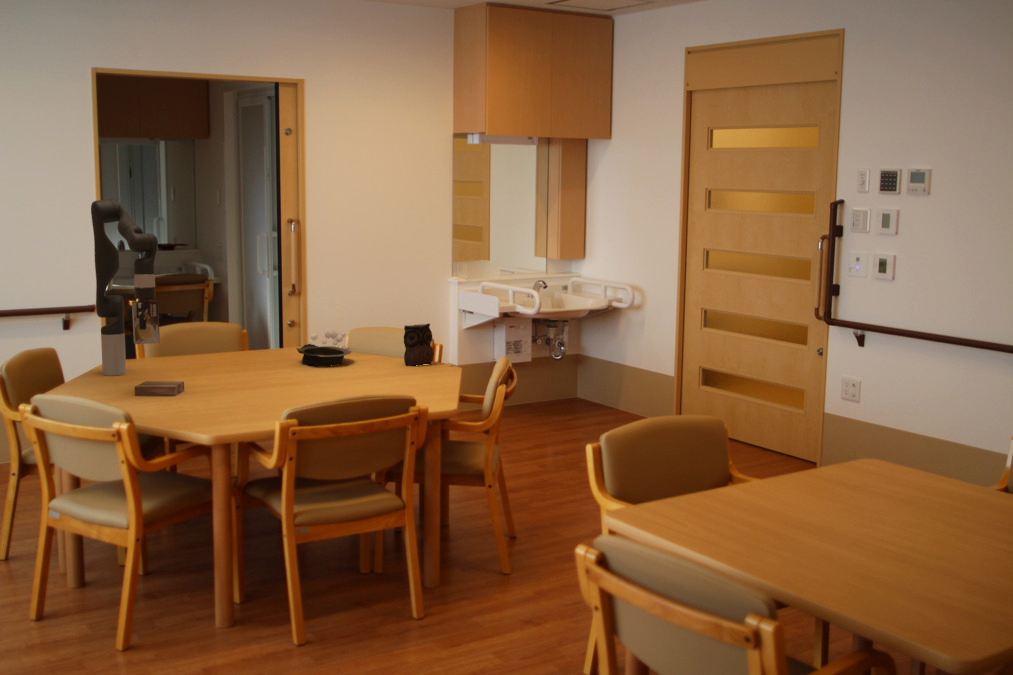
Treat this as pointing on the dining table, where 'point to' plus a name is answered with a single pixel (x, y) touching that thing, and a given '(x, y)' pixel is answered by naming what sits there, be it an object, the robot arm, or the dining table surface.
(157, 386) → the walnut base block
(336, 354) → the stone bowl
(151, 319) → the coffee box
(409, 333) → the owl
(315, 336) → the decorative flower
